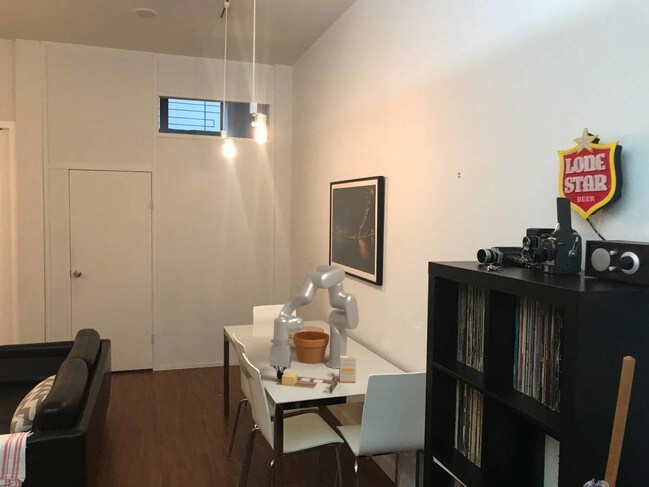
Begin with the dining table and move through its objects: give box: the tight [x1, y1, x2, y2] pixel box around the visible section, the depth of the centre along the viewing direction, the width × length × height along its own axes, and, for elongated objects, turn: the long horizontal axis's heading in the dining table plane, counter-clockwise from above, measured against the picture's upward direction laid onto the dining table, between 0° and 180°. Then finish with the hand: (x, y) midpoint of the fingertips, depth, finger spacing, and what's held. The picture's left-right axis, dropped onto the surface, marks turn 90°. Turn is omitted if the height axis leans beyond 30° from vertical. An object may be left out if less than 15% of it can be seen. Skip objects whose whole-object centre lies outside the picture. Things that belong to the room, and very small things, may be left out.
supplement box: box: [338, 354, 357, 384], centre depth 262 cm, size 8×5×13 cm, turn 92°
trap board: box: [275, 375, 339, 394], centre depth 254 cm, size 15×28×4 cm, turn 77°
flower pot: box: [292, 330, 330, 365], centre depth 297 cm, size 21×21×15 cm
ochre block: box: [282, 372, 298, 386], centre depth 252 cm, size 6×6×4 cm
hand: (279, 379), depth 254 cm, fingers closed
